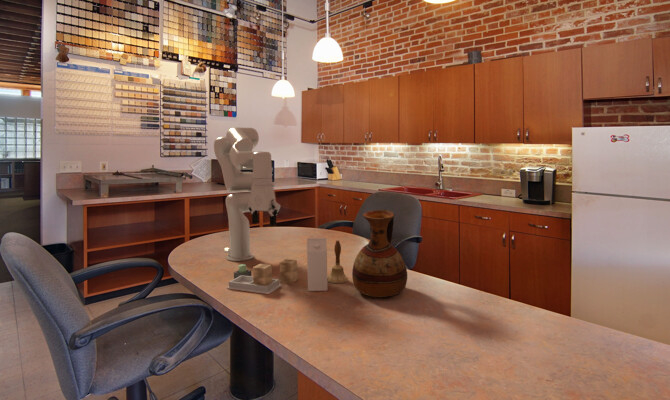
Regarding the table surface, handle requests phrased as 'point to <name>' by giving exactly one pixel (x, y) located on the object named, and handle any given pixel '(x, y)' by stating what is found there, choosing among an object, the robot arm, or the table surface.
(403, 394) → the table surface
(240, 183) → the robot arm
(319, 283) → the milk carton
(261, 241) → the table surface
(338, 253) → the hand bell
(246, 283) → the grey divided tray
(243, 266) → the button
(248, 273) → the console
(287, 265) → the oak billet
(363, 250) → the ceramic pitcher
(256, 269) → the block
